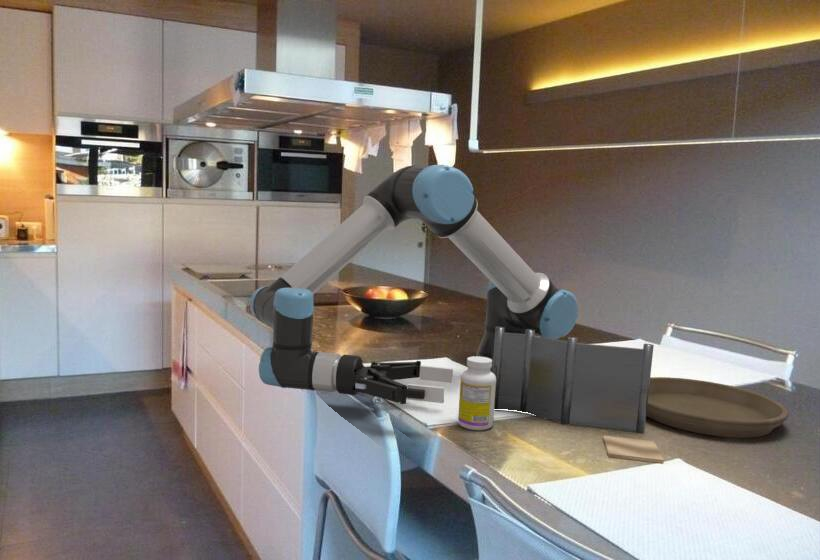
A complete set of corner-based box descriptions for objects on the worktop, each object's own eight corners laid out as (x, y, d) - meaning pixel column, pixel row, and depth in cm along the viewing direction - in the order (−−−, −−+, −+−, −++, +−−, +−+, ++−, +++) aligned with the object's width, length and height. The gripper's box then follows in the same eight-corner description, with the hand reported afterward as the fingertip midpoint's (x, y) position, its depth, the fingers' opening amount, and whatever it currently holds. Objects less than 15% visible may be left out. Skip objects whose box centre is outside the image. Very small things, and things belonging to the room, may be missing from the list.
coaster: (602, 438, 125) (603, 435, 125) (653, 444, 124) (654, 441, 124) (608, 456, 117) (608, 453, 117) (663, 463, 115) (663, 459, 115)
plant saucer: (669, 386, 165) (671, 368, 164) (809, 424, 142) (812, 403, 141) (596, 408, 144) (598, 387, 143) (746, 457, 121) (749, 432, 121)
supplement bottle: (470, 417, 133) (475, 353, 132) (499, 425, 129) (504, 359, 128) (450, 424, 128) (455, 358, 127) (479, 434, 124) (485, 365, 122)
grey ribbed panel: (489, 407, 140) (495, 326, 138) (640, 423, 135) (649, 339, 133) (488, 416, 134) (494, 331, 132) (645, 433, 130) (654, 346, 127)
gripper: (354, 375, 145) (454, 386, 141) (319, 412, 120) (438, 426, 117) (356, 341, 144) (456, 350, 140) (320, 370, 119) (440, 383, 116)
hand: (448, 385), depth 128 cm, fingers open, 13 cm apart
